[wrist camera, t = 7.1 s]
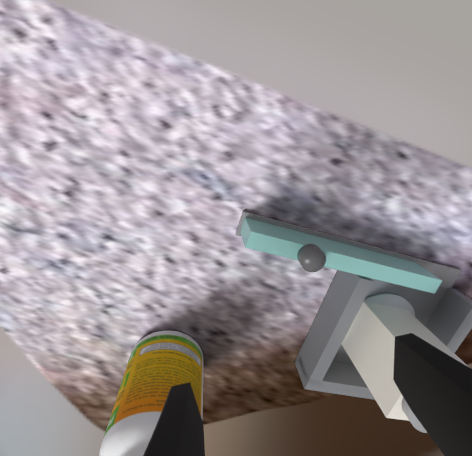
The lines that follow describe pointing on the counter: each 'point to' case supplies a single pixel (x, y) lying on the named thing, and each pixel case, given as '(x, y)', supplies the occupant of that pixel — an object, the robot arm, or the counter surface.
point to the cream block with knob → (385, 353)
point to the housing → (375, 291)
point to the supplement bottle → (151, 389)
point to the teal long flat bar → (335, 256)
